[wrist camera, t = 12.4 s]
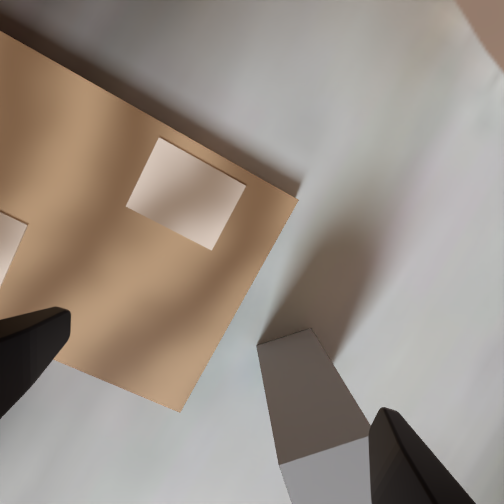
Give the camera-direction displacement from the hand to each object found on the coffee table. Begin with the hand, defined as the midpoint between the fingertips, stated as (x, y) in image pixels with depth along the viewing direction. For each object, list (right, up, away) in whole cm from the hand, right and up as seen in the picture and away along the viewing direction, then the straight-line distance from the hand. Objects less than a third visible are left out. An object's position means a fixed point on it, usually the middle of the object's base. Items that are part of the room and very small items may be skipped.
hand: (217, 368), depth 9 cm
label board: (-9, +4, +11) cm, 15 cm away
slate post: (+4, -5, +14) cm, 15 cm away
